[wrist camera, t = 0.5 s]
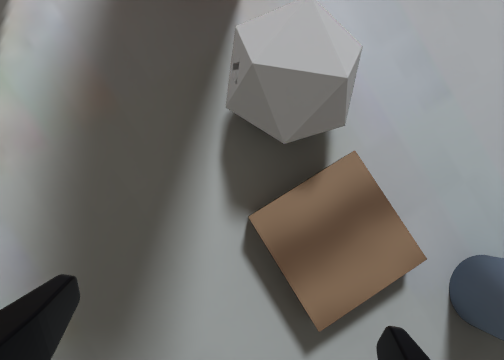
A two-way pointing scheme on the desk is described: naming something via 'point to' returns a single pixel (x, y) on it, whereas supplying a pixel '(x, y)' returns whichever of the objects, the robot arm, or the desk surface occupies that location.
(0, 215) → the desk surface
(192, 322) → the desk surface
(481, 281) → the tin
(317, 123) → the die
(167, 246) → the desk surface
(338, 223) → the base slab
